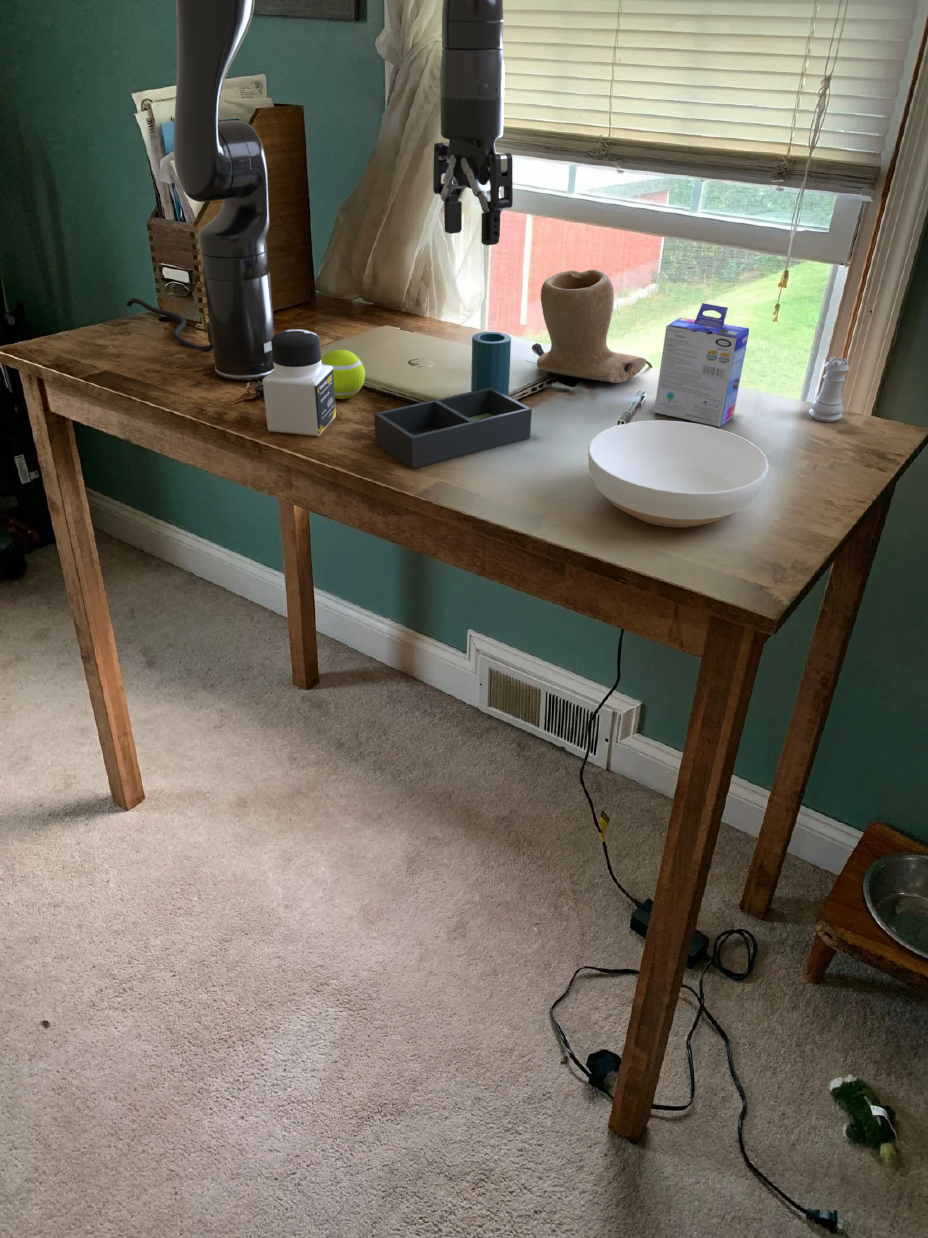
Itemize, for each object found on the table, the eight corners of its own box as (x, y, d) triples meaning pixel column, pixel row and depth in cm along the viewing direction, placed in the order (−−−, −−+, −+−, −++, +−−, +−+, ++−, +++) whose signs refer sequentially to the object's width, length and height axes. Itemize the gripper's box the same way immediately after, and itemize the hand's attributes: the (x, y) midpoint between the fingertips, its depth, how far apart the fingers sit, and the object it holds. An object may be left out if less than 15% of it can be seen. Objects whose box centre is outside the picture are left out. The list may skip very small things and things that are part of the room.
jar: (464, 398, 133) (465, 335, 128) (494, 391, 136) (496, 329, 131) (484, 410, 130) (486, 345, 125) (515, 403, 132) (518, 339, 127)
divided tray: (374, 443, 120) (373, 413, 118) (489, 415, 128) (490, 386, 126) (412, 469, 114) (411, 438, 111) (530, 438, 122) (532, 408, 120)
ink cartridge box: (735, 416, 129) (755, 309, 121) (722, 429, 125) (741, 319, 117) (667, 401, 134) (682, 297, 126) (652, 413, 130) (666, 306, 122)
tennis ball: (362, 406, 130) (360, 359, 126) (314, 405, 130) (310, 357, 127) (369, 389, 136) (367, 343, 132) (322, 388, 136) (319, 342, 132)
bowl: (630, 454, 118) (636, 407, 115) (782, 496, 109) (794, 446, 106) (551, 512, 105) (555, 461, 101) (718, 565, 96) (728, 511, 92)
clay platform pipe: (520, 377, 141) (525, 273, 132) (556, 356, 149) (563, 257, 141) (613, 398, 134) (625, 290, 126) (646, 374, 143) (659, 272, 134)
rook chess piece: (802, 416, 130) (815, 359, 125) (816, 408, 132) (830, 351, 128) (833, 425, 127) (847, 367, 123) (847, 416, 130) (861, 359, 125)
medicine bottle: (319, 437, 121) (312, 344, 114) (267, 432, 122) (257, 339, 116) (336, 416, 127) (331, 327, 120) (286, 412, 128) (278, 323, 121)
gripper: (533, 96, 108) (528, 245, 117) (465, 87, 118) (465, 225, 127) (479, 99, 105) (477, 252, 113) (414, 90, 114) (417, 231, 123)
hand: (471, 238), depth 120 cm, fingers open, 8 cm apart
